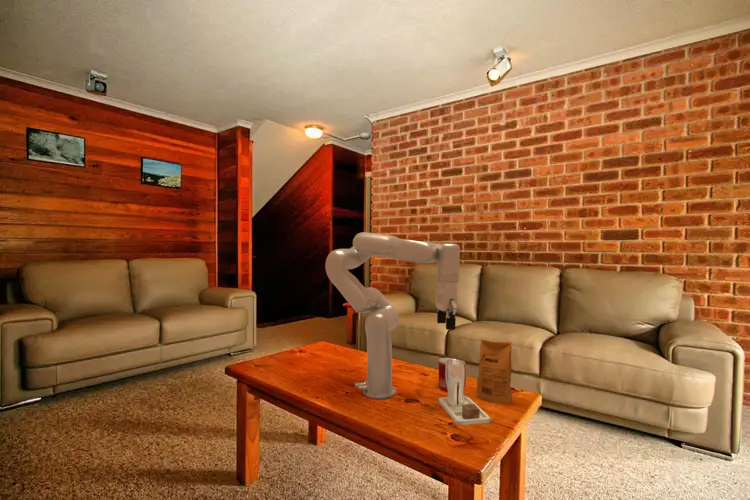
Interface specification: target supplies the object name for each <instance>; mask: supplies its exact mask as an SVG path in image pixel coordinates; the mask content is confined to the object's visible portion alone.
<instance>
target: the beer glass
mask: <svg viewBox="0 0 750 500" xmlns="http://www.w3.org/2000/svg"><path fill="white" fill-rule="evenodd" d="M445 377H446V384H447V390H448V391H447V397H448V399H447V406H448V407H449V408H452V409H462V405H465V404H464V396H465V387H466V380H467V368H466V362H465V360H461V359H459V358H458V359H457V358H454V359H450V360H447V361H446V370H445Z"/></svg>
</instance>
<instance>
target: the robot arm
mask: <svg viewBox="0 0 750 500" xmlns="http://www.w3.org/2000/svg"><path fill="white" fill-rule="evenodd" d="M460 253H461V249H460V245H459V244H457V243H436V242H428V241H418V240H411V239H404V238H400V237H397V236H396V235H389V234H382V233H380V234H379V233H376V232H375V233H373V232H366V231H363V232H359V233H356V235H355V236H354V238H353V239H352V246H351V247H350V248H338V249H334V250H332V251H331V252H330V253H329V254H328V255H327V257H326V260H325V272H326V275H327V277H328V279H329V280H330V282H331V284H332V285H334V286H335V287H336V289H337V290H338V291H339V292H340V294H341V295H342V297H343V298H344V299H345V300H346V302H347V303H349V305H350V306H351V308H352V309H353V310H354V311H355V312H356V313H358V314H365V313H369V314H368V315H367V316H366V319H365V322H364V323H365V324H364V329H365V337H366V358H367V359H366V371H367V372H366V378H365V381H362V382H354V388H355V389H358V390H360V391H362V392H363V396H365V397H368V398H369V399H370V398H371V399H379V400H383V399H389V398H392V397H394V396H395V395H396V394H397V389H396V388H395V387H394V386H393V352H392V351H393V347H392V346H393V344H392V337H391V331H393V330H394V329H396V328H397V327H398V325H399V322H400V316H399V313H398V311H397V310H396V308H395V307H394V306H393V305H392V304H391V303H390V301H389V300H388V299H387V298H386V297H385V295H384V294H383V293H382V292H381V291H380V290H378V289H377V288H376V287H375V288H374V287H371V286H369V287H365V286H364V285H363V284H362V283H361V282H360V280H359V279H358V278H357V277H356V276H355V275H354V274H352V272H350V271H349V270H354V269H357V268H358V267H360V266H361V265H362V264H364V263H366V262H367V261H369V259H370V258H372V257H373V256H374V257H375V256H376V257H381V258H387V259H392V260H399V261H404V262H411V263H417V264H431V263H432V264H433V263H437V271H436V274H437V276H436V278H437V279H436V282H437V284H436V285H437V286H436V292H435V293H436V295H435V308H437V314H436V316H437V317H436V322H437V324H445V330H448V331H449V330H450V331H452V330H453V331H455V330H456V322H457V321H456V319H457V310H458V285H457V284H459V280H460V278H459V275H460V258H461V255H460Z"/></svg>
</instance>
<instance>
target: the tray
mask: <svg viewBox="0 0 750 500" xmlns="http://www.w3.org/2000/svg"><path fill="white" fill-rule="evenodd" d="M447 399H448V396H445V397H438V398H437V402H438V404H440V406H441V407H442V408H443V409H444V411H445V412H446V414H448V415H449V417H450V418H451V419H452V420H453V422H454V423H455V424H456V425H457V426H471V425H480V424H481V425H482V424H491V423H492V417H490V416H489V415H488V414H487V413H486V411H484V410H483V409H482V408H481V407H480V406H478V404H477V403H476V402H474V400H472V399H471V398H470V397H469V396H468V395H464V404H475V405H476V406H477V407H478V408H479V409H480V418H475V419H463V417H462V409H452V408H449V407H448V406H447Z"/></svg>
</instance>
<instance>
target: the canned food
mask: <svg viewBox="0 0 750 500" xmlns="http://www.w3.org/2000/svg"><path fill="white" fill-rule="evenodd" d="M450 359H455V358H453V357H442V358H439V359H438V388H439V389H440V390H442V391H444V392H448V390H447V384H446V377H445V370H446V361H447V360H450Z"/></svg>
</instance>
